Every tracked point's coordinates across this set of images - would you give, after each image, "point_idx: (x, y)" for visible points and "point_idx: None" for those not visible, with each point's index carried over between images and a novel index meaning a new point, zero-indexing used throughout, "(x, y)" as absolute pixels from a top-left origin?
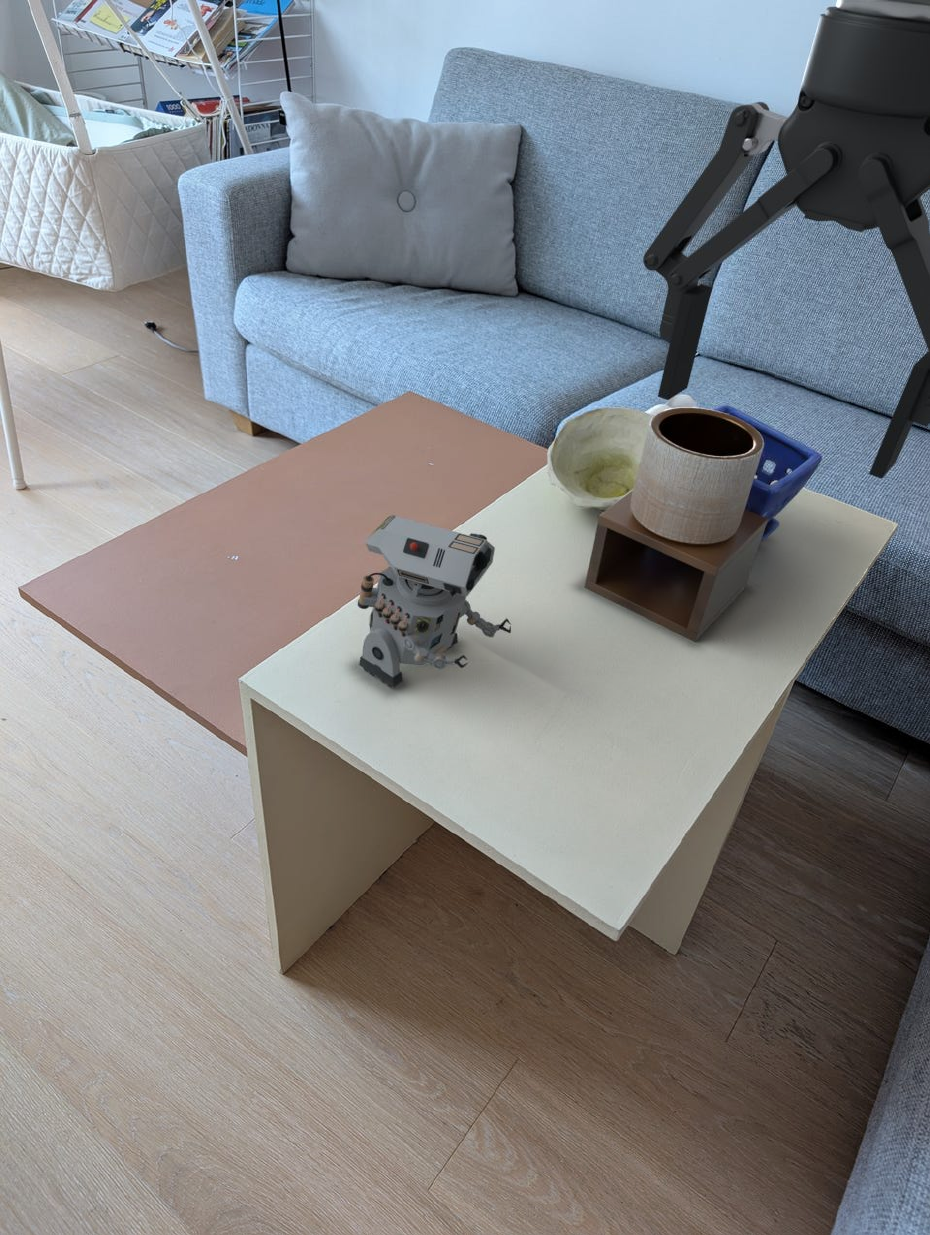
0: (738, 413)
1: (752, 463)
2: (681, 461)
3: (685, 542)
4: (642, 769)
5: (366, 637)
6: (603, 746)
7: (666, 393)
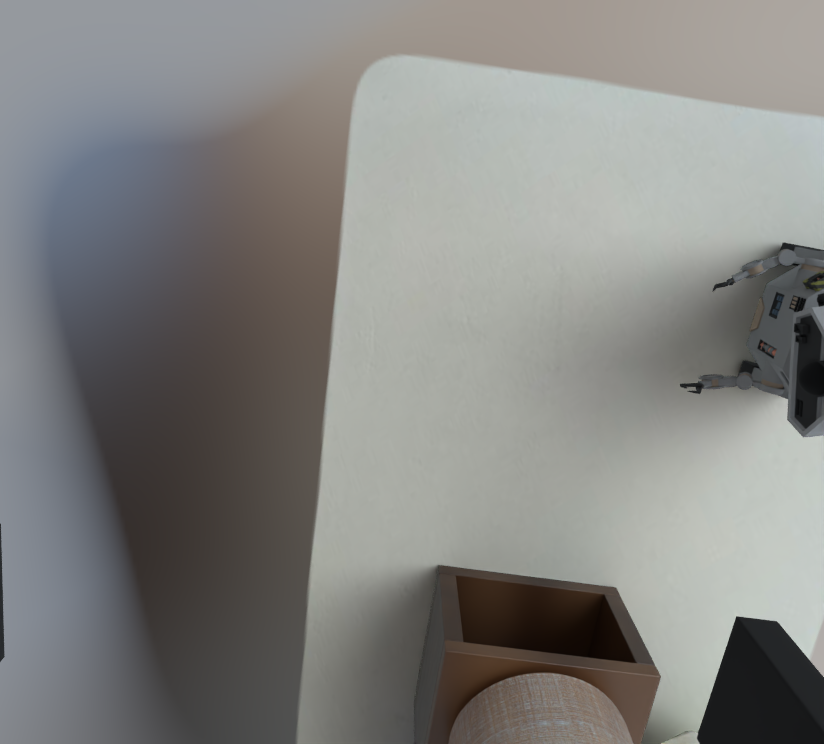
0: None
1: None
2: None
3: (511, 677)
4: (419, 303)
5: None
6: (478, 312)
7: (759, 632)
